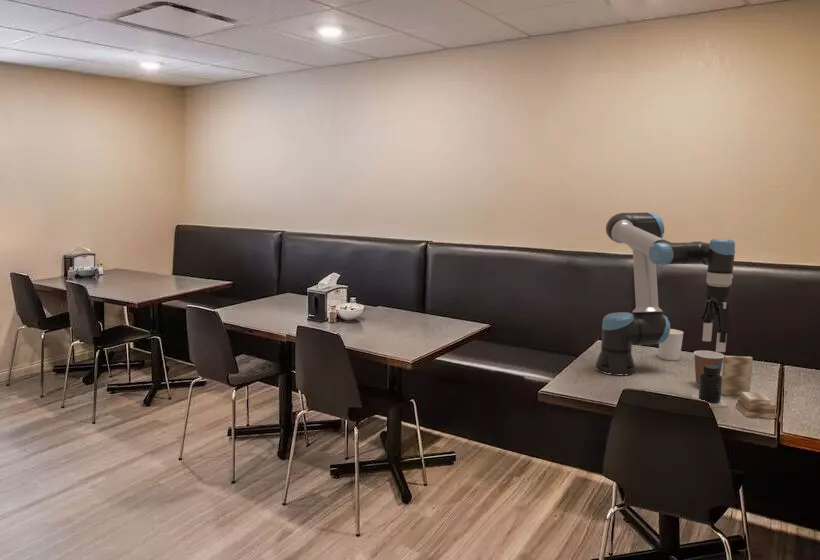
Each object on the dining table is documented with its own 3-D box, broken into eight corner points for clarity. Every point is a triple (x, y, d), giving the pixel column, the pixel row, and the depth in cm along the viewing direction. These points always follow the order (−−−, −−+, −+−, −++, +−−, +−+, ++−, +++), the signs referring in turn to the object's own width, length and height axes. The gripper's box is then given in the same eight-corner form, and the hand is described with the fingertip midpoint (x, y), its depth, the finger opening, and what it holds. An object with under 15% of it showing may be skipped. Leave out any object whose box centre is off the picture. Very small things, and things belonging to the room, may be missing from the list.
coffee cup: (708, 390, 213) (711, 359, 211) (685, 382, 222) (687, 352, 220) (728, 387, 217) (730, 356, 215) (704, 379, 226) (706, 349, 224)
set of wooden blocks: (746, 416, 188) (750, 375, 186) (720, 392, 210) (723, 355, 208) (776, 418, 186) (780, 376, 184) (747, 394, 209) (750, 356, 207)
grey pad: (699, 406, 197) (699, 403, 197) (691, 397, 206) (691, 394, 206) (727, 407, 196) (727, 405, 195) (718, 398, 204) (718, 396, 204)
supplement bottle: (714, 396, 204) (716, 363, 202) (724, 403, 197) (727, 369, 195) (694, 396, 204) (697, 363, 202) (704, 403, 197) (706, 369, 195)
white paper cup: (685, 361, 250) (687, 334, 248) (662, 361, 250) (664, 333, 249) (675, 354, 260) (677, 328, 258) (653, 354, 260) (655, 328, 258)
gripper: (745, 291, 182) (739, 357, 185) (717, 279, 206) (712, 337, 209) (720, 290, 183) (714, 355, 186) (695, 278, 207) (690, 336, 211)
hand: (713, 346), depth 198 cm, fingers open, 13 cm apart
